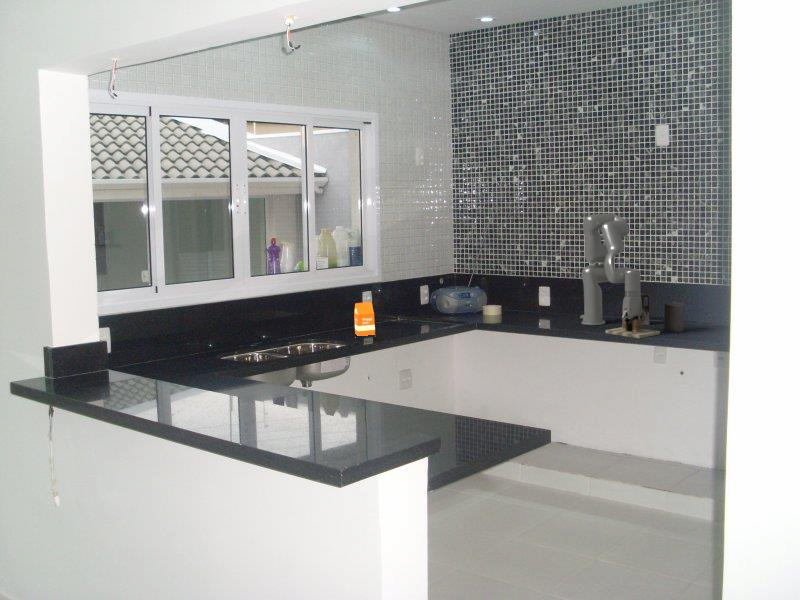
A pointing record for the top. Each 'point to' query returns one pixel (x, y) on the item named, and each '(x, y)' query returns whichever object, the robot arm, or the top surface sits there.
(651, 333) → the pine board
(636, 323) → the block
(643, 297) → the coffee box
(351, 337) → the top surface
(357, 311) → the orange juice
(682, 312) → the pillar candle
